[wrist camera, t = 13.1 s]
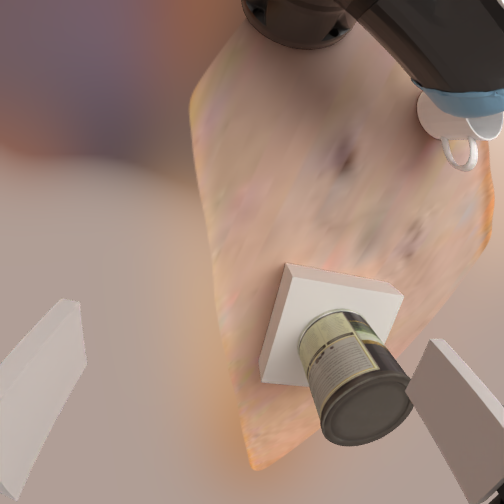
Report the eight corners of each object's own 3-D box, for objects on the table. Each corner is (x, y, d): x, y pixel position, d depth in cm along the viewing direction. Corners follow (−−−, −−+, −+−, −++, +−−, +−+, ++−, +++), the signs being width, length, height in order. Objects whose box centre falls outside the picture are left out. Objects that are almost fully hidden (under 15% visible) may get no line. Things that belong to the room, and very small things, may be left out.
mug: (419, 79, 35) (464, 65, 25) (458, 99, 36) (505, 93, 26) (406, 157, 38) (453, 162, 28) (447, 173, 39) (495, 182, 29)
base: (285, 262, 42) (292, 276, 37) (388, 282, 44) (404, 296, 39) (258, 361, 46) (261, 382, 41) (352, 370, 48) (362, 389, 43)
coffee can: (376, 305, 39) (430, 367, 26) (361, 368, 42) (400, 437, 29) (300, 308, 38) (332, 382, 25) (292, 374, 41) (314, 452, 28)
